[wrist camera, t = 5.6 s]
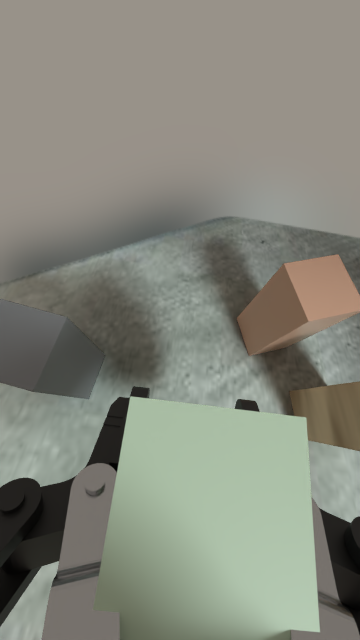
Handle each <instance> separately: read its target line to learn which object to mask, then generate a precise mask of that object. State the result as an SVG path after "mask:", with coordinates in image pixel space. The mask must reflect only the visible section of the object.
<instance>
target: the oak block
mask: <svg viewBox="0 0 360 640" xmlns="http://www.w3.org/2000/svg"><path fill="white" fill-rule="evenodd" d="M289 393H290V398H291V402H292V407H293V412H294V416H297V417H306V420H307V436H308V440H310V441H314V442H319V443H324V444H329V445H333V446H338V447H343V448H348V449H352V450H357V451H360V382H352V383H345V384H337V385H330V386H323V387H315V388H308V389H301V390H293V391H289Z"/></svg>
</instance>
